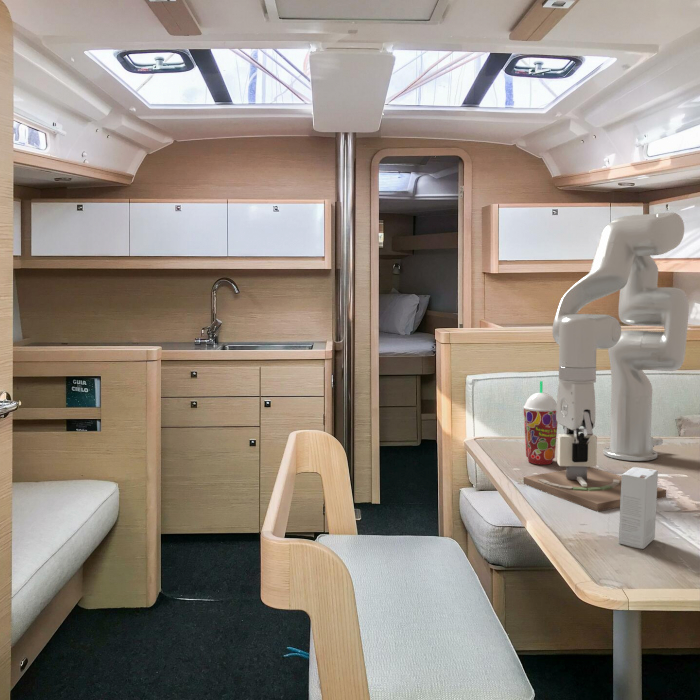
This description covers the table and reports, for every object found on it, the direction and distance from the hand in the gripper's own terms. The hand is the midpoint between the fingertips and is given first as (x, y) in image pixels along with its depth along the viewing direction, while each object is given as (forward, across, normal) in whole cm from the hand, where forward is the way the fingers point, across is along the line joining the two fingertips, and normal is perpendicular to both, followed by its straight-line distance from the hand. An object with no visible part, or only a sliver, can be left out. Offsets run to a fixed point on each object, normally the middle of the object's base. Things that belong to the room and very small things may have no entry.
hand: (575, 458), depth 145 cm
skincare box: (+6, +32, -3) cm, 33 cm away
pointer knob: (+4, +3, 0) cm, 5 cm away
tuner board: (+6, +4, +2) cm, 7 cm away
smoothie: (+6, -20, 0) cm, 21 cm away
